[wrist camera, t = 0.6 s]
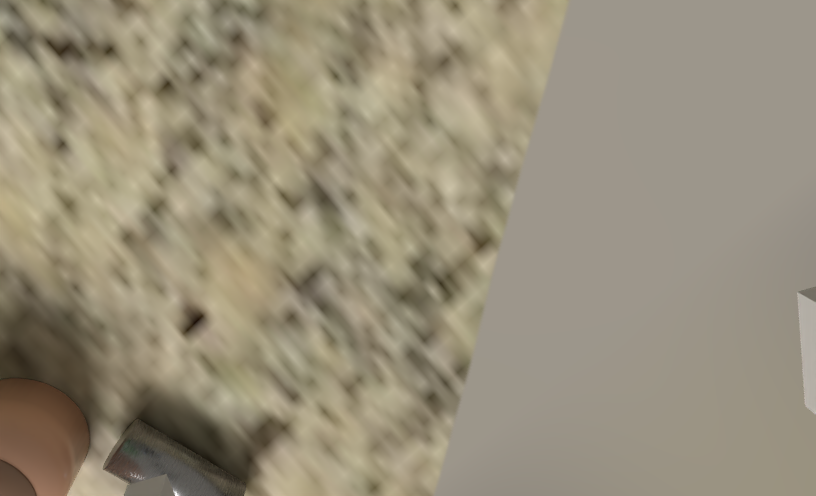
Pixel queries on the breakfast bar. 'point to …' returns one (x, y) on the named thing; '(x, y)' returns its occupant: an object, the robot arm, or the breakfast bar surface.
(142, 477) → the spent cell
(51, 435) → the cup
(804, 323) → the robot arm
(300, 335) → the breakfast bar surface
